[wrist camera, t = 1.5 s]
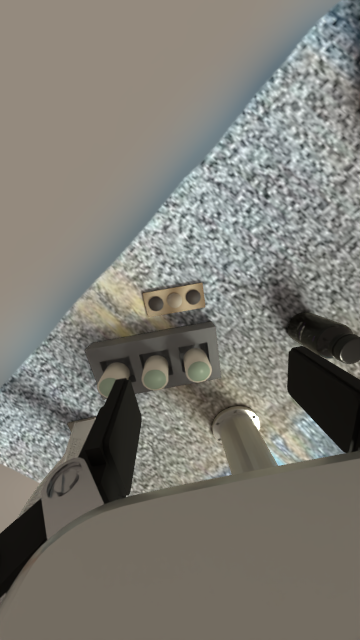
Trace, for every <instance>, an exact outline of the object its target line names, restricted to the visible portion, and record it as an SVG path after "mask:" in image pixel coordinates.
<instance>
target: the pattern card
mask: <svg viewBox="0 0 360 640" xmlns="http://www.w3.org/2000/svg"><path fill="white" fill-rule="evenodd" d="M142 294H143V298H144V302H145V306H146V311H147V315H148V317H153V316H159V315H165V314H170V313H176V312H181V311H187V310H192V309H198V308H203V307H205V300H204V292H203V284H202V283H197V284H191V285H185V286H180V287H174V288H168V289H163V290H157V291H152V292H146V293H142Z"/></svg>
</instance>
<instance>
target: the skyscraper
mask: <svg viewBox="0 0 360 640" xmlns="http://www.w3.org/2000/svg"><path fill="white" fill-rule="evenodd" d="M95 419H96V417H91V418H87V419H82V420H78V421H73V422H69V423H67V425H68V427H69V429H70V431H71V435H70V439H69V442H68V445H67V448H66V452H65V454H64V456H63V457H62V459H61V460H60V461H59V462H58V463H57V464H56V465H55V466H54V468H53V469H52V470H51V471H50V472H49V473H48V475H47V476H46V477H45V478H44V480H43V481H42V482H41V483H40V485H39V486H38V487H37V489H36V490H35V491H34V493H33V494H32V496H31V497H30V499H29V500H28V502H27V503H26V505H25V506H24V508H23V509H22V511H21V513H20V514H19V516H18V518H19V517H20V516H21V515H22V514H23V513H24V512H26V511H27V510H28V509H29V508H30V507H31V506H32V505H34V504H35V503H36V502H37V501H38V500H39V499H40V498H41V492H42V489H43V486H44V484H45V482H46V480H47V479H48V477H49V476H50V475H51V474H52V472H53V471H54V470H55V469H56V468H57V467H59V466H60V465H61V464H62V463H64V462H66V461H67V460H70V459H72V458H78V456H79V454H80V451H81V449H82V447H83V445H84V443H85V441H86V438H87V436H88V434H89V432H90V430H91V428H92V425H93V423H94V421H95Z"/></svg>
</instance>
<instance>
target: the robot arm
mask: <svg viewBox="0 0 360 640" xmlns="http://www.w3.org/2000/svg"><path fill="white" fill-rule="evenodd" d="M287 390H288V393H289V394H290V395H291V397H292V398H293V399H294V400H295V401H296V402H297V403H298V404H299V405H300V406H301V407H302V408H303V409H304V410H305V411H306V413H307V414H308V415H309V416H310V417H311V418H312V419H313V420H314V421H315V422H316V423H317V424H318V425H319V426H320V427H321V429H322V430H323V431H324V432H325V433H326V434H327V435H328V436H329V437H330V438H331V439H332V440H333V441H334V442H335V443H336V445H337V446H338V447H339V448H340V449H341V450H342V451H343V452H345V454H340V455H334V456H329V457H323V458H318V459H313V460H307V461H302V462H297V463H291V464H286V465H281V466H278V465H277V463H276V461H275V459H274V458H273V456H272V454H271V452H270V450H269V449H268V447H267V445H266V443H265V441H264V440H263V438H262V436H261V434H260V432H259V428H260V420H259V418H258V416H257V415H256V413H255V412H254V411H253V410H251V409H250V408H247V407H243V406H235V407H230V408H227V409H225V410H223V411H222V412H221V413H219V414H218V415H217V416H216V418H215V419H214V421H213V424H212V432H213V435H214V437H215V439H216V440H217V441H218V442H219V443H221V444H223V448H224V451H225V454H226V457H227V461H228V464H229V467H230V470H231V474H232V475H229V476H224V477H219V478H214V479H209V480H204V481H199V482H194V483H189V484H184V485H179V486H174V487H169V488H164V489H160V490H155V491H151V492H146V493H142V494H137V495H133V496H129V497H126V495H129V494H130V490H131V484H132V478H133V472H134V466H135V459H136V453H137V447H138V441H139V434H140V428H141V422H142V419H141V413H140V410H139V407H138V403H137V400H136V397H135V393H134V390H133V386H132V383H131V380H127V378H122V379H116V380H115V382H114V384H113V387H112V389H111V391H110V393H109V396H108V398H107V400H106V402H105V405H104V406H103V407H101V409H100V410H99V412H98V415H97V417H96V419H95V421H94V423H93V425H92V428H91V430H90V432H89V434H88V436H87V438H86V441H85V443H84V445H83V447H82V449H81V451H80V454H79V456H78V458H72V459H70V460H67V461H66V462H64V463H62V464H61V465H60V466H59V467H57V468H56V469H55V470H54V471H53V472H52V474H51V475H50V476H49V477H48V479H47V480H46V482H45V484H44V486H43V489H42V492H41V498H40V499H39V500H38V501H37V502H36V503H35V504H34V505H32V506H31V507H30V508H29V509H28V510H27V511H26V512H24V513H23V514H22V515H21V516H20V517H19V518H17V519H16V520H15V521H14V522H13V523H12V524H11V525H9V526H8V527H7V528H6V529H5V530H4V531H3V532H2V533H0V640H360V380H359V379H358V378H356V377H354V376H353V375H351V374H349V373H348V372H346V371H344V370H343V369H341V368H339V367H338V366H336V365H334V364H333V363H331V362H329V361H328V360H326V359H324V358H323V357H321V356H319V355H318V354H316V353H314V352H313V351H311V350H310V349H308V348H306V347H304V346H300V347H294V348H292V349H291V351H289V359H288V383H287Z"/></svg>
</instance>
